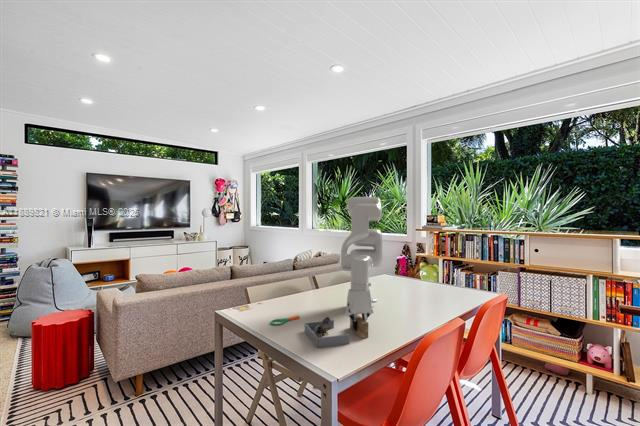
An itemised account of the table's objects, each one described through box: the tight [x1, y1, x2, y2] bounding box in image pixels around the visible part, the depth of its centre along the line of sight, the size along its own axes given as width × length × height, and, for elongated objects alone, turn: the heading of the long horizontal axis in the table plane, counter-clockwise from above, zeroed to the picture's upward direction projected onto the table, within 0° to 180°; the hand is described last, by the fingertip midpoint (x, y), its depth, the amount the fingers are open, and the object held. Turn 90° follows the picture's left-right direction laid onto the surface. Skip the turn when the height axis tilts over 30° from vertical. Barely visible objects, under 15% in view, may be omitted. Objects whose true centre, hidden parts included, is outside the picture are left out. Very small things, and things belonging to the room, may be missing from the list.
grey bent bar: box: [304, 319, 350, 349], centre depth 128 cm, size 13×18×4 cm
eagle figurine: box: [314, 316, 331, 338], centre depth 131 cm, size 8×7×9 cm
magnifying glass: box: [269, 314, 301, 327], centre depth 146 cm, size 15×6×2 cm, turn 128°
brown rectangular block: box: [349, 313, 369, 339], centre depth 133 cm, size 3×12×6 cm, turn 18°
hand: (359, 328), depth 133 cm, fingers closed on brown rectangular block, 3 cm apart
